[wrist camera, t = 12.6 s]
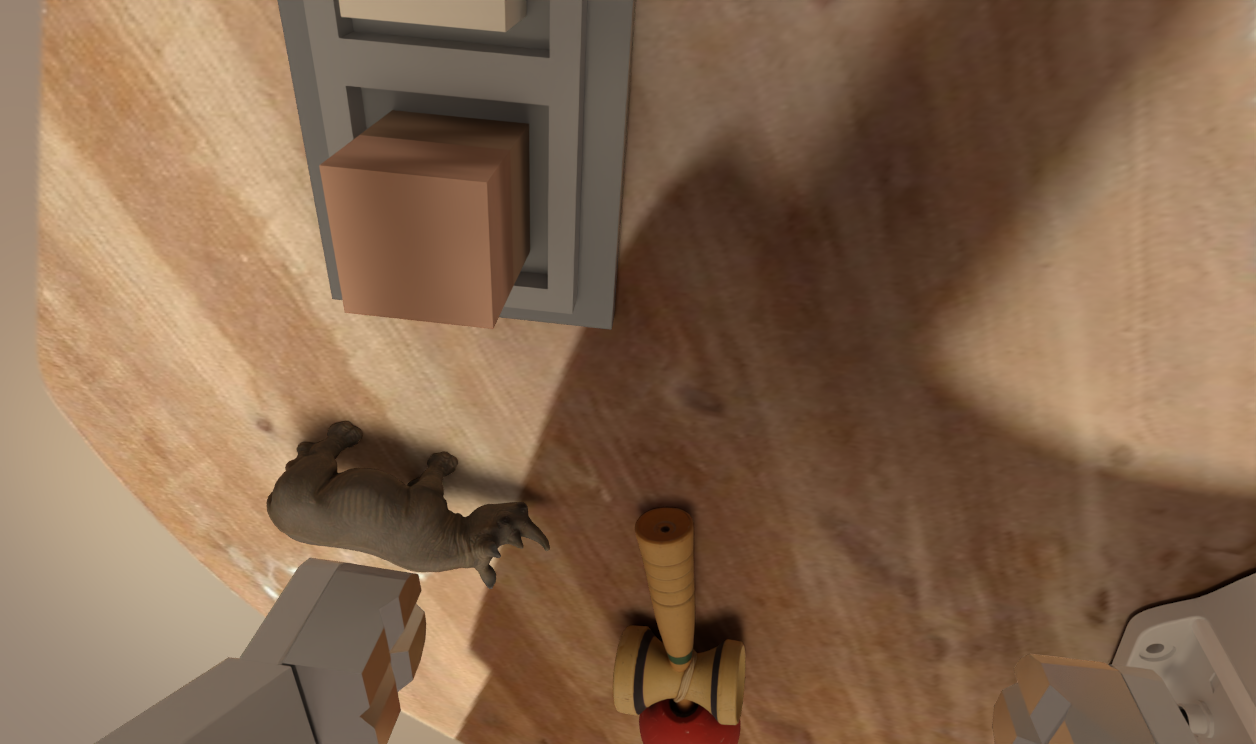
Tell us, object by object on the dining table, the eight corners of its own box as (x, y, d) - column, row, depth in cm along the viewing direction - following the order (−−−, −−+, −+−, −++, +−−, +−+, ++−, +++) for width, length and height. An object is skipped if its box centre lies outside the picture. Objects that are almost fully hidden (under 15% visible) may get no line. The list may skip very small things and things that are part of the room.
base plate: (614, 317, 32) (602, 369, 28) (342, 288, 32) (299, 335, 29) (656, -307, 20) (645, -341, 17) (233, -338, 21) (143, -378, 17)
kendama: (582, 494, 40) (625, 722, 48) (583, 572, 34) (633, 818, 42) (723, 473, 40) (743, 705, 48) (748, 548, 34) (767, 797, 42)
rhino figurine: (550, 533, 40) (527, 627, 35) (299, 462, 39) (238, 550, 34) (568, 481, 38) (546, 574, 33) (302, 404, 36) (237, 489, 31)
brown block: (529, 123, 26) (487, 182, 21) (530, 251, 29) (493, 328, 24) (392, 110, 26) (319, 165, 22) (406, 237, 29) (344, 312, 24)
